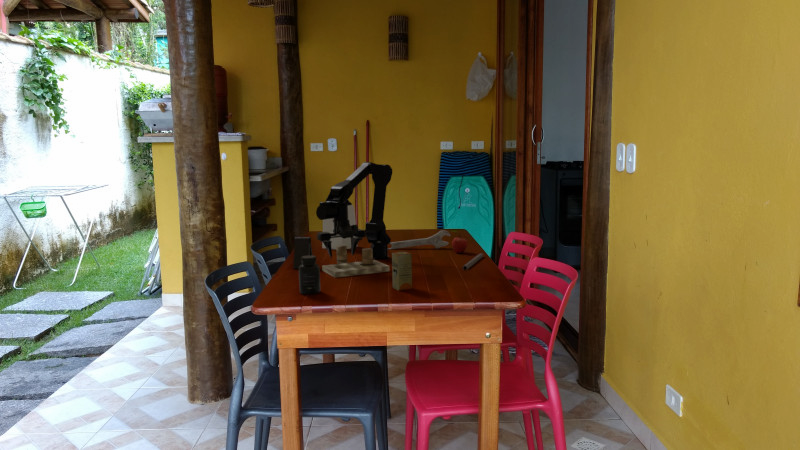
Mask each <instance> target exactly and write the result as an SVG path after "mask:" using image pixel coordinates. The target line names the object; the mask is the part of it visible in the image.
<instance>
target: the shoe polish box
mask: <svg viewBox="0 0 800 450" xmlns="http://www.w3.org/2000/svg"><path fill="white" fill-rule="evenodd" d="M412 255H413V254H412V253H410V252H408V251H407V250H406V251H395V252H391V269H392V272H391V273H392V279H391V280H392V288H393V289H395V290H396V291H405V290H406V291H407V290H409V291H410V290H413V270H412V269H413V265H412V263H413V262H412V260H413V259H412Z"/></svg>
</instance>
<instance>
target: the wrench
mask: <svg viewBox="0 0 800 450" xmlns="http://www.w3.org/2000/svg"><path fill="white" fill-rule="evenodd" d="M444 236H448V237H451V234H450V232H449V231H447V230H439V231H438V232H437V233H435V234H433V235H431V236H429V237H426V238H425V237H424V238H417V239H416V238H415V239H408V240H401V241H392V242H390V244H389V245H391V247H389V248H388V247H387V250H396V249H403V248H404V249H405V248H411V247H417V246H425V245H431V246H434V247H435V249H440V248H442V247H446V246H448V245H449V243H450V242H448V241H444V240H443V237H444Z"/></svg>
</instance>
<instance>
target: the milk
mask: <svg viewBox="0 0 800 450" xmlns="http://www.w3.org/2000/svg"><path fill="white" fill-rule="evenodd" d="M355 209H356V208H355V206H354V205H353V204H352V205H348V220H349V222H350V226H352V225H357V222H356V221H357V219H356V211H355ZM333 220H334V218H333V219H326V220H322V232H329V233H334V232H333V230H334V222H333ZM337 235H338V234H337ZM330 241H332V243H331V249H332V250H336V251H337V247H336V246H339V245H345V246H347V250H348V249H349V250H351V238H346V239H343V238H342V237H337V238H331V239H330ZM321 247H322V249H326V247H325V245H324V243H323V242H321ZM357 247H358V244H357V246H356V248H357ZM326 250H327V249H326Z"/></svg>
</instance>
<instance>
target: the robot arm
mask: <svg viewBox="0 0 800 450" xmlns="http://www.w3.org/2000/svg"><path fill="white" fill-rule="evenodd" d="M369 175H371V179H372V181H373V184H374V191H373V200H372V209H371V219H369V221H368V222H366V223H365V229H361V228H359V226H358V224H356V225H352V226H350V222H349V220H348V205H353V203H352V202H351V201H350V200H349V199H350V197H351V196H352V195H353V193H354V190H355V188H356V187H358V186H359V184H360V183H362V182H363V180H365V179H366V178H367V177H368V176H369ZM392 176H393V168H392V167H391V166H390V165H389V164H378V163H374V162H371V161H368V162H367V161H366V162H362V163H361V165H360V166H359V167H358V168H357V169H355V171H353V172H352V173H351V175H349V176H348V177H347V178H346V179H345V180H343V181H340V182H338V183H336V184H334V185H333V186H332V187H330V189H329V190H330V191H329V193H328V195H327V198H326V199H325V201H322V202H321V201H320V202H319V205H318V206H317V207H316V210H315V211H316V212H315V214H316V217H317V219H318V220H321V221H323V220H326V219H333V218H334V220H333V222H334V230H333V232H334V233H329V232H323V231H319V232H317V234H316V240H318V241H320V242H321V243H322V242H323V243H324V245H325V247H326V251H327V253H328V255H329V258H332V257H333V251H332V250H333V249H331V243H332V241H330V239H331V238H337V237H342V238H343V239H346V238H351V248H350V252H351V256H354V255H355V252H356V248H357V247H358V246H357V245H358V244H359V242H360V241H361V240H363V238H366V241H367V243H368V244H370V247H369V248H371V249H373V260H381V259H383V260H384V259H390V256H389V255H388V254H389V253H388V252H389V251H388V249H387V248H388V245H391V244H390V243H391V241H392V239H391V237H390V236H389V235H388V233H387V227H386V224H385V221H384V214H385V204H386V196H387V195H386V194H387V186H388V185H389V183H390V182H391V180H392ZM337 234H338V235H337ZM356 246H357V247H356Z"/></svg>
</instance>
